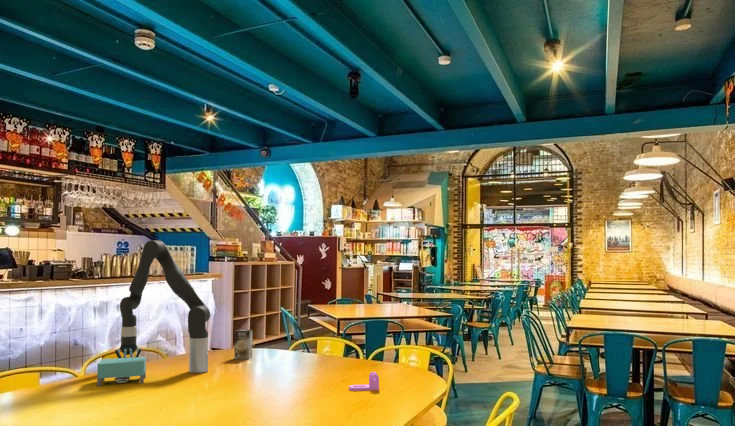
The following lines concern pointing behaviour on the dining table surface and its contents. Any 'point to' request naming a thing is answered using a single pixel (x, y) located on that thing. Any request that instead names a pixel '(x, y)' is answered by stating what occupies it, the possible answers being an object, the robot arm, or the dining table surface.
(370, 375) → the bracket
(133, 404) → the dining table surface
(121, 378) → the scraper tool
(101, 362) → the teal footstool
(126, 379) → the steel token
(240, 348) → the coffee box
